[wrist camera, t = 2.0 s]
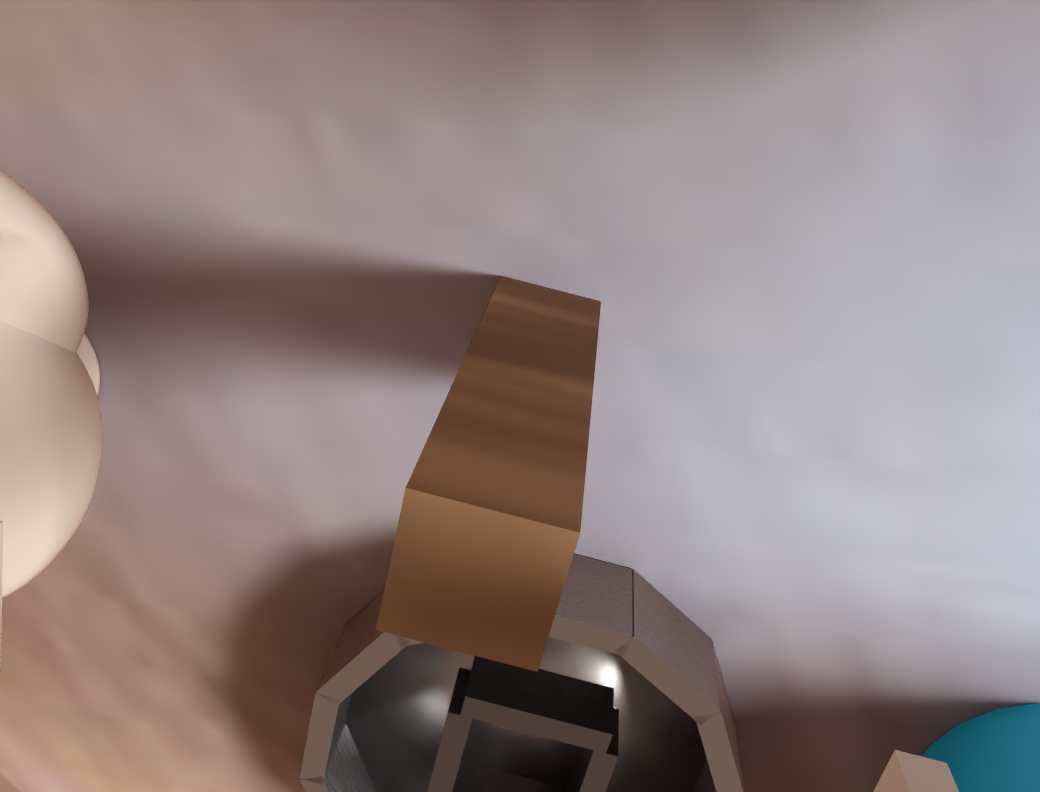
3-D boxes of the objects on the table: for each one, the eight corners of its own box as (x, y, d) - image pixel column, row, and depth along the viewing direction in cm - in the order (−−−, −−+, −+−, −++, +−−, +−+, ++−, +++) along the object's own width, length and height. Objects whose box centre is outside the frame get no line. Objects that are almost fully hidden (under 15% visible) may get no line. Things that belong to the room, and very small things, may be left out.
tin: (369, 501, 31) (340, 559, 28) (785, 608, 31) (802, 679, 28) (309, 807, 37) (279, 885, 34) (661, 899, 37) (665, 985, 34)
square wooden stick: (501, 276, 28) (406, 487, 16) (600, 301, 28) (579, 532, 16) (479, 368, 29) (375, 630, 17) (575, 393, 29) (537, 671, 17)
